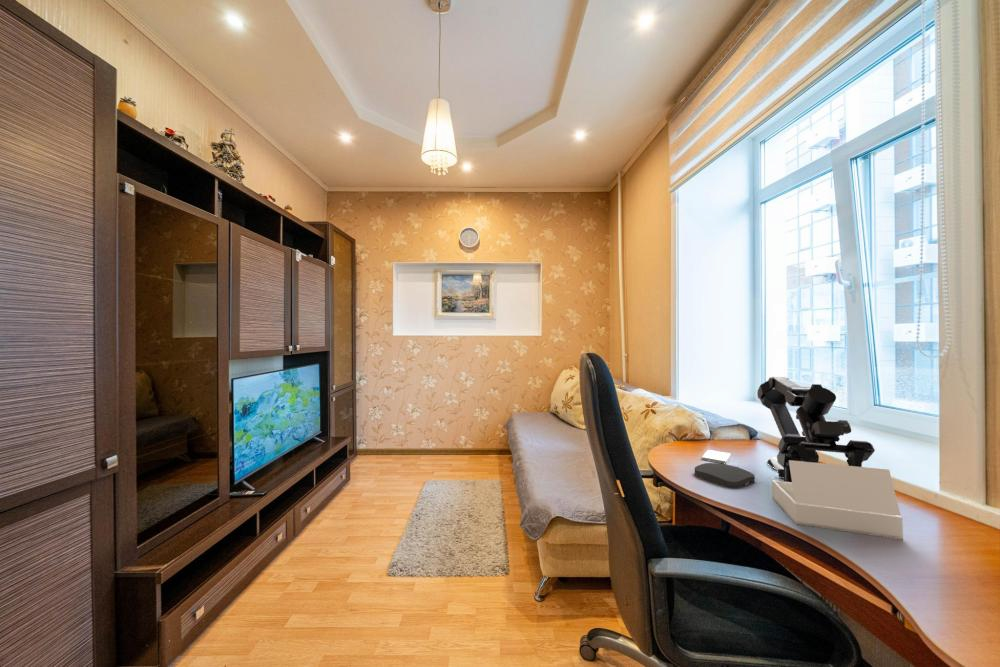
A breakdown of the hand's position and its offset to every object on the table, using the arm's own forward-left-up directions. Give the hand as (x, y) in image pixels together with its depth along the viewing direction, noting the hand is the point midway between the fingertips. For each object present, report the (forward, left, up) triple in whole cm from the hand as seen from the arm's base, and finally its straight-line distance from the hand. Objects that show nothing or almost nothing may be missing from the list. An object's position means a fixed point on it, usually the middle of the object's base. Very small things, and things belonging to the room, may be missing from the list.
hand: (836, 478), depth 89 cm
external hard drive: (-50, +1, -12) cm, 51 cm away
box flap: (+4, -2, -6) cm, 7 cm away
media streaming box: (-30, -9, -12) cm, 33 cm away
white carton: (-3, +1, -11) cm, 12 cm away
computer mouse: (-35, +16, -12) cm, 40 cm away
